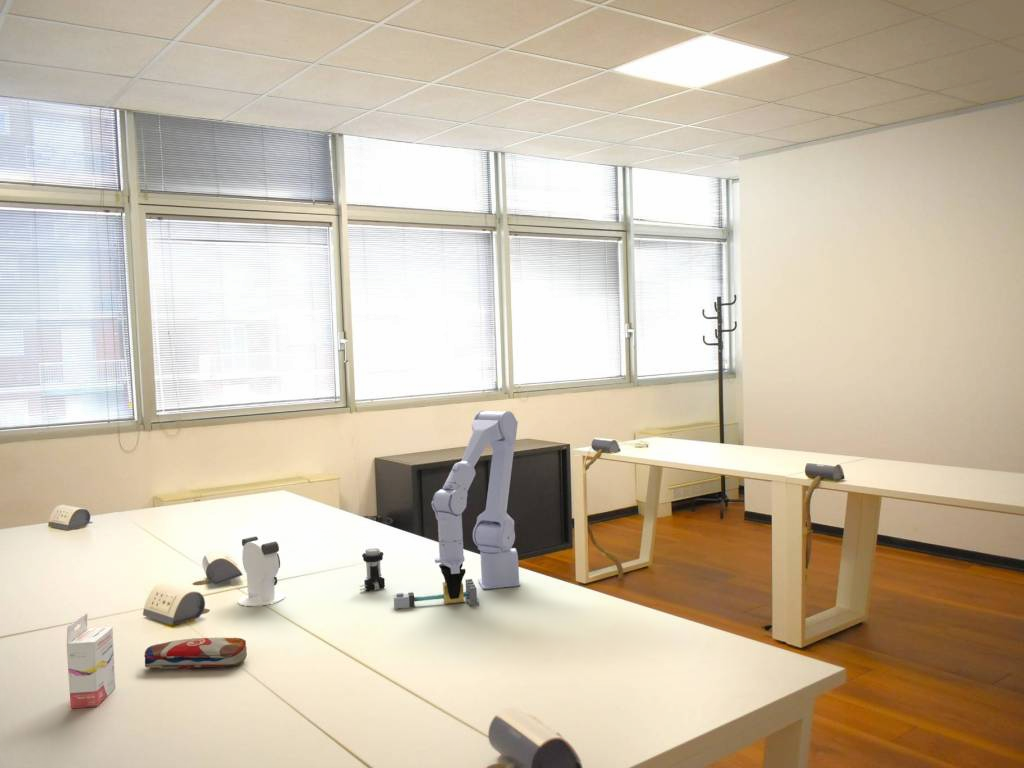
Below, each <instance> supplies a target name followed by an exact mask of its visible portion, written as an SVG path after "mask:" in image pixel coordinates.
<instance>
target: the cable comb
mask: <svg viewBox="0 0 1024 768" xmlns="http://www.w3.org/2000/svg"><path fill="white" fill-rule="evenodd" d="M465 592H468V596H465V597H466V598H465V597H464V598H465V599H466V603H467V604H469V605H468V607H471V606H470V605H475V606H480V601H479V598H478V597H477V586H476V584H475V582H474V581H473V578H466V579H465Z"/></svg>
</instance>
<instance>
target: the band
mask: <svg viewBox="0 0 1024 768" xmlns="http://www.w3.org/2000/svg"><path fill="white" fill-rule="evenodd" d="M407 594H408V595H409V606H410V607H413V608H416V607H415V605H416V604H415V601H414V597H415V593H414V592H413V591H411V592H408V593H407Z"/></svg>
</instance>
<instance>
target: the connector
mask: <svg viewBox="0 0 1024 768" xmlns="http://www.w3.org/2000/svg"><path fill="white" fill-rule="evenodd" d="M409 607H410V606H409V595H408V593H404V592H396V594H393V608H394V610H398V608H403V609H410V608H409Z"/></svg>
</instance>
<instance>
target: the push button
mask: <svg viewBox="0 0 1024 768" xmlns="http://www.w3.org/2000/svg"><path fill="white" fill-rule="evenodd" d="M361 555H362V560H363V561H364V563H365V564H366V565H365V566H366V577H365V579H364V584H363V585H361V584H360V585H359V587H361V588H360V589H359V591H364V590H365V591H367V592H370V590H372V591H377V590H380V589H379V588H381V589H382V588H383V589H385V588H386V584H385V583H386V582H385V579H386V578H385V577H382V573H381V572H382V571H381V561H382V560H383V559H384V558H383V556H384V552H383V551H380V548H375V547H374V548H368V549H365V552H363V554H361ZM362 587H363V588H362ZM384 587H385V588H384ZM374 589H375V590H374ZM376 589H377V590H376Z"/></svg>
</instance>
